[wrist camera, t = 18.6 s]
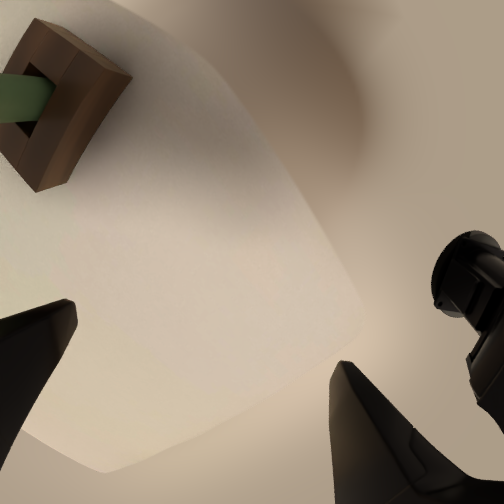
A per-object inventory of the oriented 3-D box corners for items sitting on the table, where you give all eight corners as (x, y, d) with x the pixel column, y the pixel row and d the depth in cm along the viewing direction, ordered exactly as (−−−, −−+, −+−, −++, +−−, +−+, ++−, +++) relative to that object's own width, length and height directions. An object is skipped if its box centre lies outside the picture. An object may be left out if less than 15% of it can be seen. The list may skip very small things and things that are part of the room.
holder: (133, 77, 18) (105, 68, 14) (66, 183, 21) (35, 193, 17) (63, 27, 16) (34, 17, 12) (9, 121, 19) (-21, 125, 15)
